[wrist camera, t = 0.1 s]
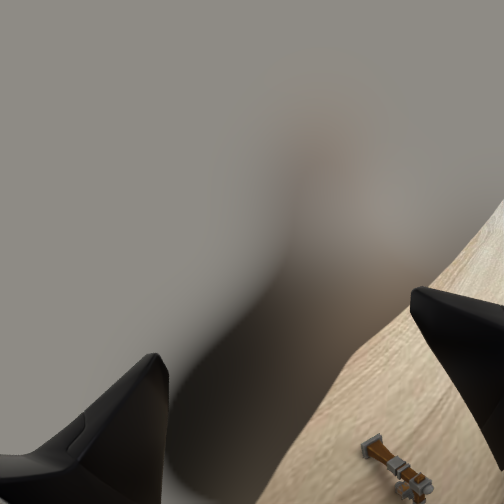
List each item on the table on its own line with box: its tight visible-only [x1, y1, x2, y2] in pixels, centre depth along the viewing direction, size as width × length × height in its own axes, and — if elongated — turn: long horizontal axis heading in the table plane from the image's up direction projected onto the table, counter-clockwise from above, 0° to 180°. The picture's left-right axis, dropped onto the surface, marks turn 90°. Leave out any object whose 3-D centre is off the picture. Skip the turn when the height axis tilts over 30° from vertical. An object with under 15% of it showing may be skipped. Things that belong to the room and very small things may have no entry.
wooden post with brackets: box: [361, 433, 434, 504], centre depth 12 cm, size 2×8×4 cm, turn 16°
